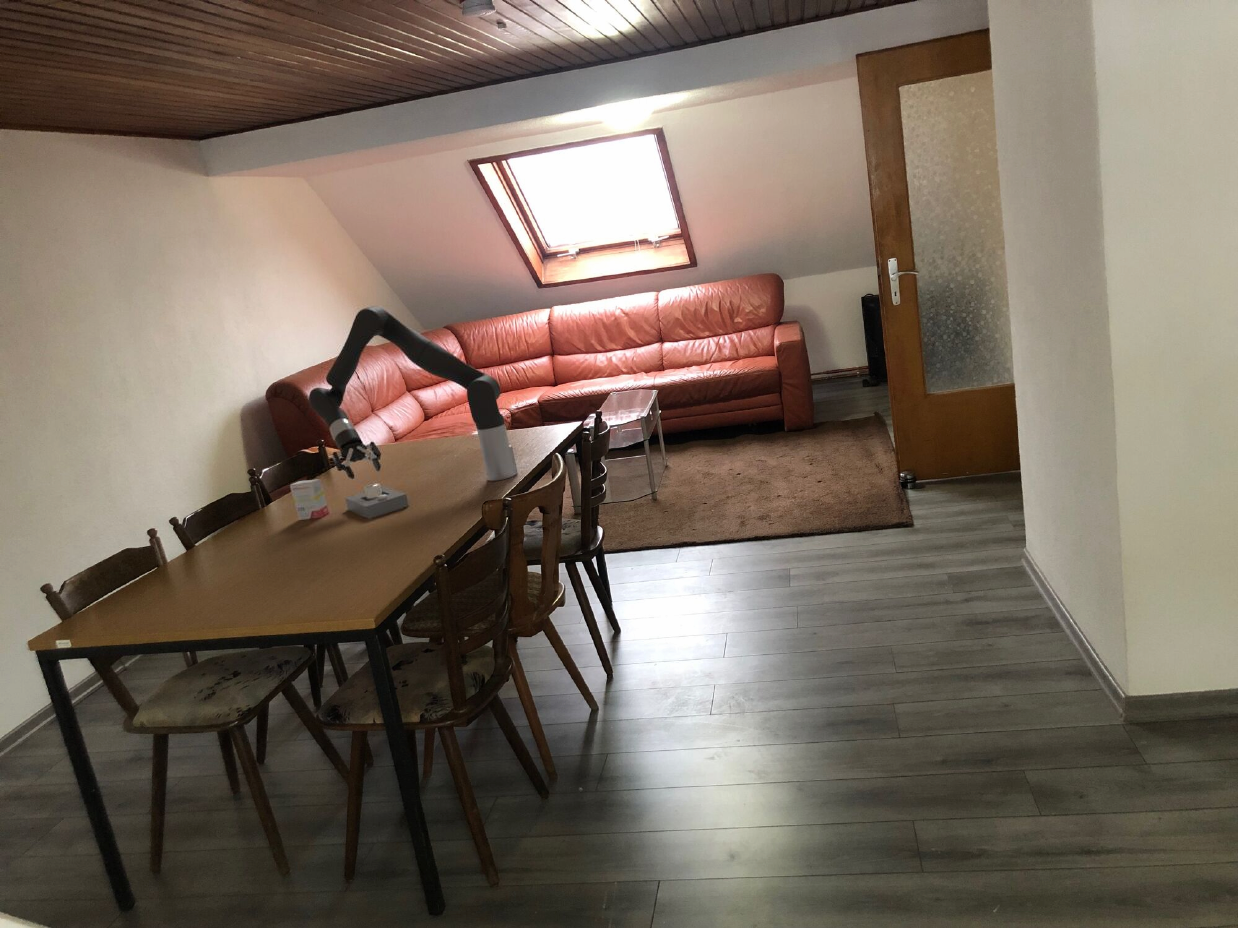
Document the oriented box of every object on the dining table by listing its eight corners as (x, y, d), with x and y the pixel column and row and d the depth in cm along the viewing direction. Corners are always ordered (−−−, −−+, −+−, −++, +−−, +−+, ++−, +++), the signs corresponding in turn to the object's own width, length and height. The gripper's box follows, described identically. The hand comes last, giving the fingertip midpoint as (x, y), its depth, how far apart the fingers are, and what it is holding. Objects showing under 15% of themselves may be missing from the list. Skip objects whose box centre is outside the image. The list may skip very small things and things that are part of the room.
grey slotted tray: (385, 497, 312) (382, 483, 311) (408, 506, 296) (405, 490, 295) (347, 509, 306) (344, 495, 304) (369, 519, 289) (365, 503, 288)
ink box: (330, 513, 306) (320, 477, 303) (321, 518, 301) (312, 482, 298) (307, 515, 308) (298, 480, 306) (298, 520, 304) (289, 485, 301)
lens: (382, 504, 304) (376, 482, 302) (388, 506, 300) (382, 484, 298) (366, 509, 302) (361, 487, 300) (372, 511, 297) (366, 489, 296)
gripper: (324, 434, 301) (345, 472, 294) (367, 422, 308) (388, 460, 301) (323, 448, 306) (343, 487, 300) (365, 437, 314) (386, 474, 307)
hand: (366, 473), depth 300 cm, fingers open, 8 cm apart
